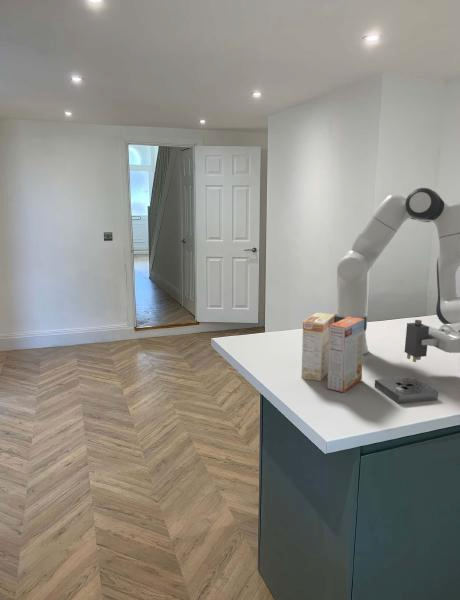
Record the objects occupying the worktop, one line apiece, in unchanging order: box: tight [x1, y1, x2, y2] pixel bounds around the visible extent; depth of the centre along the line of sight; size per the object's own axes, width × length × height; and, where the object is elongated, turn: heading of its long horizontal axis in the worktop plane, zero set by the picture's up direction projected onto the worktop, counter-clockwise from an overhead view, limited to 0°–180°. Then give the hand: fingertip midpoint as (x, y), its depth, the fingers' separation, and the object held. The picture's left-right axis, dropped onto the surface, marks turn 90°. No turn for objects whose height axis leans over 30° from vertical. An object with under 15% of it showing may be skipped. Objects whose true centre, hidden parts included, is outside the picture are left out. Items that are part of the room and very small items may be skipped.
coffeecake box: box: [301, 312, 336, 382], centre depth 156 cm, size 15×7×20 cm, turn 152°
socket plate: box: [374, 375, 439, 405], centre depth 140 cm, size 13×13×3 cm
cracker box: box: [326, 317, 364, 394], centre depth 145 cm, size 14×6×21 cm, turn 141°
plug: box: [404, 319, 429, 363], centre depth 152 cm, size 6×4×14 cm
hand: (414, 339), depth 152 cm, fingers closed on plug, 5 cm apart
